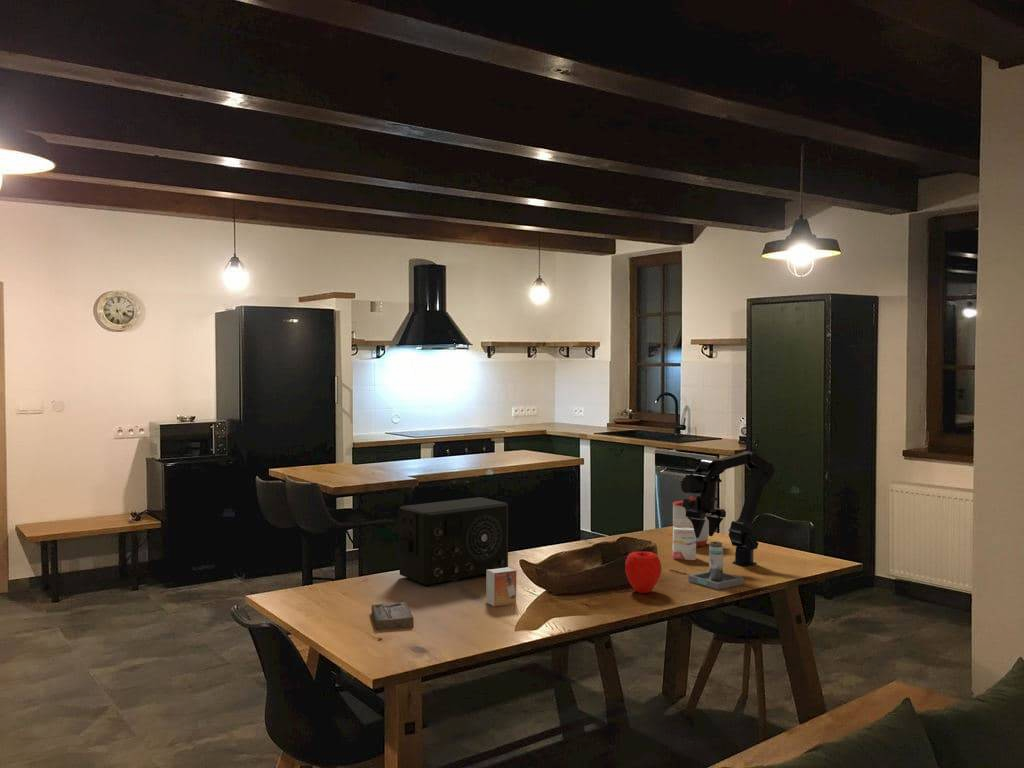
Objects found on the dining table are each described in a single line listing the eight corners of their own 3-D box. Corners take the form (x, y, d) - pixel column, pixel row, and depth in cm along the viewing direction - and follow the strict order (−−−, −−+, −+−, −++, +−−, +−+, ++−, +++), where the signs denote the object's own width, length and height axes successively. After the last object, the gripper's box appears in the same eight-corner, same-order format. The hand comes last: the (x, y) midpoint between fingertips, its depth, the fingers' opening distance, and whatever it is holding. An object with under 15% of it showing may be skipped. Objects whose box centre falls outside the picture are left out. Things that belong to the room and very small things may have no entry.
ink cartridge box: (673, 559, 330) (673, 521, 329) (672, 556, 334) (672, 518, 334) (696, 560, 329) (696, 521, 328) (694, 557, 334) (695, 519, 333)
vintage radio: (423, 590, 285) (423, 514, 284) (393, 578, 300) (393, 506, 300) (514, 573, 308) (514, 503, 307) (482, 563, 323) (482, 496, 322)
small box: (493, 607, 266) (493, 573, 265) (485, 602, 271) (485, 569, 270) (516, 603, 269) (516, 570, 269) (508, 599, 274) (508, 566, 274)
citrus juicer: (719, 548, 350) (719, 498, 349) (676, 548, 349) (676, 498, 349) (709, 540, 365) (710, 492, 365) (668, 540, 365) (668, 493, 364)
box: (376, 632, 243) (376, 620, 243) (371, 614, 260) (370, 604, 259) (414, 628, 245) (414, 617, 245) (406, 611, 262) (406, 601, 262)
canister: (710, 578, 298) (710, 541, 298) (724, 580, 296) (724, 542, 296) (707, 581, 294) (707, 543, 294) (721, 583, 292) (721, 544, 292)
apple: (653, 585, 291) (653, 546, 291) (667, 595, 280) (667, 553, 279) (619, 588, 288) (620, 547, 288) (633, 597, 277) (633, 555, 277)
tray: (714, 576, 304) (714, 570, 304) (743, 584, 293) (743, 577, 293) (687, 581, 297) (688, 575, 297) (717, 590, 286) (717, 583, 286)
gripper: (701, 490, 327) (698, 531, 326) (674, 491, 313) (670, 534, 313) (728, 494, 319) (724, 537, 319) (701, 495, 305) (697, 540, 305)
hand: (704, 536), depth 314 cm, fingers open, 9 cm apart
